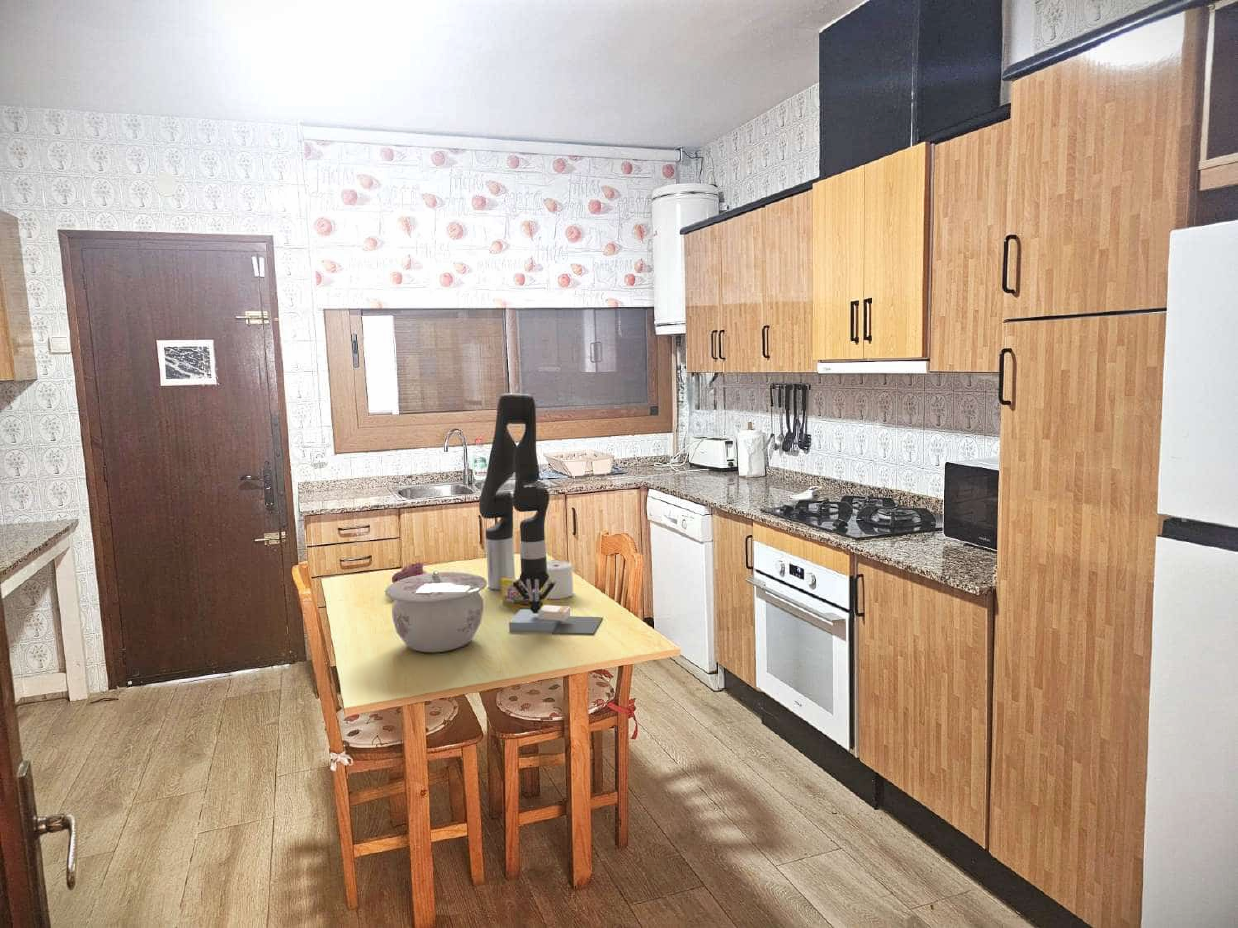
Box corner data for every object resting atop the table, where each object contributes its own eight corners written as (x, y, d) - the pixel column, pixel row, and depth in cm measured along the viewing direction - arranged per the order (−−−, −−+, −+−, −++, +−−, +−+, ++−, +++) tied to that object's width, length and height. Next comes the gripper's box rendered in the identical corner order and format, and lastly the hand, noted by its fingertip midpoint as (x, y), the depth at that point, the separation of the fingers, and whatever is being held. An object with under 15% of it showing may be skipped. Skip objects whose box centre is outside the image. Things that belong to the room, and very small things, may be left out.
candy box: (501, 604, 258) (500, 579, 257) (505, 602, 260) (504, 577, 259) (544, 610, 251) (543, 584, 249) (548, 608, 252) (546, 582, 251)
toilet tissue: (553, 601, 259) (552, 571, 258) (532, 594, 268) (530, 564, 267) (579, 594, 266) (578, 564, 264) (558, 587, 275) (556, 558, 273)
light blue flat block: (521, 617, 244) (520, 609, 244) (562, 618, 242) (562, 610, 242) (509, 630, 232) (508, 622, 232) (553, 631, 230) (553, 623, 230)
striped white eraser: (544, 613, 239) (543, 604, 239) (570, 614, 237) (570, 606, 237) (538, 618, 234) (538, 610, 233) (564, 620, 232) (564, 612, 232)
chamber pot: (444, 669, 205) (439, 590, 202) (366, 653, 218) (361, 578, 215) (511, 635, 229) (508, 563, 226) (437, 622, 242) (433, 554, 239)
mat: (563, 617, 243) (563, 616, 242) (602, 618, 241) (602, 616, 241) (552, 633, 229) (552, 631, 229) (593, 634, 227) (593, 633, 227)
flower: (442, 577, 281) (432, 551, 278) (432, 594, 267) (421, 568, 264) (403, 589, 282) (392, 564, 280) (391, 607, 268) (379, 581, 266)
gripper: (558, 552, 237) (560, 609, 239) (515, 551, 239) (517, 608, 241) (552, 558, 229) (554, 617, 232) (507, 557, 232) (510, 616, 234)
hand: (535, 612), depth 236 cm, fingers closed
